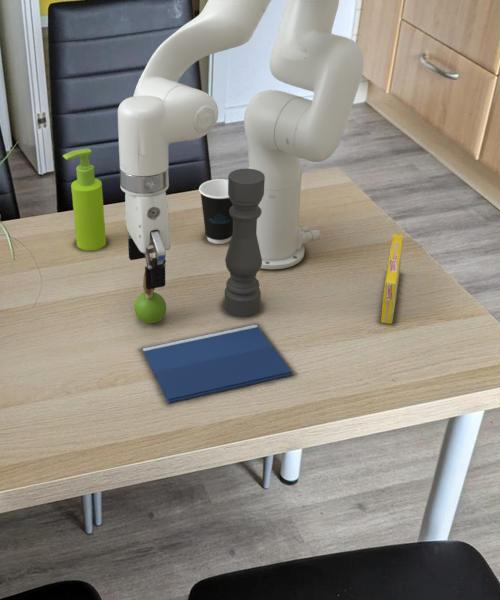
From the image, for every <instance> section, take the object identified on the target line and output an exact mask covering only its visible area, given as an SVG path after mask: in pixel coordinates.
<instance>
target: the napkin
mask: <svg viewBox="0 0 500 600" xmlns="http://www.w3.org/2000/svg"><path fill="white" fill-rule="evenodd" d="M141 350H142V353H143V355H144V357H145V359H146V360H147V362H148V364H149V367H150V369H151V371H152V372H153V374H154V376H155V379H156V381H157V382H158V384H159V387H160V389H161V391H162V393H163V394H164V397H165V398H166V400H167V402H168V404H173V403H176V402H181V401H186V400H189V399H190V400H191V399H194V398H199V397H203V396H207V395H213V394H216V393H221V392H226V391H230V390H235V389H238V388H243V387H247V386H253V385H257V384H262V383H265V382H270V381H274V380H279V379H282V378H287V377H291V376H292V375H293V374H292V370H291V369H290V368H289V366H288V365H287V363H286V362H285V361H284V359H283V358H282V356H281V355H280V354H279V352H278V351H277V349H276V348H275V347H274V346H272V345H271V343H270V341H269V340H268V339H267V337H266V336H265V335H264V333H263V332H262V331H261V329H260V328H259V325H257V323H255V324H249V325H245V326H241V327H235V328H232V329H231V328H230V329H226V330H221V331H217V332H212V333H208V334H202V335H198V336H193V337H189V338H184V339H180V340H179V339H178V340H175V341H170V342H166V343H160V344H155V345H150V346H147V347H142V348H141Z"/></svg>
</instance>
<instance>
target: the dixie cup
mask: <svg viewBox="0 0 500 600" xmlns="http://www.w3.org/2000/svg"><path fill="white" fill-rule="evenodd" d="M198 191H199V193H200V199H201V207H202V216H203V222H204V223H203V224H204V231H205V232H204V233H205V236H206V239H207V241H208V242H210V243H211V244H216V245H222V244H227V243H230V241H231V237H232V234H233V218H232V217H231V216H230V213H229V209H230V208H231V207H232V206H233V205H232V202H231V201H230V197H229V195H228V179H224V178H217V179H216V178H215V179H210V180H206V181H205V182H203V183H201V184H200V185H199V188H198Z"/></svg>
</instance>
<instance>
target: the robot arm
mask: <svg viewBox="0 0 500 600" xmlns="http://www.w3.org/2000/svg"><path fill="white" fill-rule="evenodd" d="M271 2H272V0H207V2H206V4H205V6H204V7H203V9H202V11H201V12H200V13H199V14H198V15H197V16H195V17H194V18H193V19H191V20H189V21H188V22H187V23H185V24H184V25H183V26H181V27H180V28H178V29H176V31H174V33H172V34H171V35H170V36H169V37H167V38H166V39H165V40H163V42H162V43H161V44H160V45H159V46H158V47H157V48H156V49H155V51H154V52H153V53H152V55H151V57H150V58H149V60H148V62H147V64H146V66H145V68H144V69H143V71H142V73H141V75H140V77H139V78H138V82H137V83H136V87H135V89H134V92H133V96H130V97H127V98H124V99H123V100H122V101H121V102H120V103H119V106H118V108H117V130H118V131H117V132H118V133H117V134H118V135H117V136H118V155H119V156H118V157H119V159H118V160H119V179H120V180H119V181H120V189H121V191H122V192H123V193H124V194H125V195H124V200H125V201H124V211H125V215H124V216H125V225H126V226H125V227H126V229H127V236H128V238H127V244H128V245H127V246H128V259H129V260H130V261H135V260H141V259H145V262H146V266H145V267H144V273H145V286H146V288H147V289H154V288H155V289H158V288H164V287H165V286H166V266H167V265H166V262H167V259H166V256H167V252H166V251H169V250H170V248H171V230H170V229H171V227H170V215H169V214H170V213H169V205H168V198H167V193H166V192H167V190H168V189H169V188H170V187H169V186H170V182H169V181H170V174H169V173H170V172H169V170H170V168H169V166H170V165H169V161H170V160H169V159H170V158H169V157H170V156H169V146H170V145H171V144H174V143H180V142H181V143H182V142H189V141H194V140H198V139H201V138H203V137H204V136H206V135H207V134H209V133H210V132H211V131H212V129H214V128H215V126H216V124H217V122H218V118H219V107H218V104H217V102H216V100H215V98H214V97H212V95H210V94H208V93H207V92H205V91H203V90H200V89H199V88H194V87H192V86H189V85H186V84H183V83H180V82H179V81H180V79H181V78H182V76H183V75H184V74H185V72H186V71H187V70H188V69H189V68H190V67H191V66H193V65H194V64H195V63H196V62H198V61H200V60H201V59H204V58H205V57H208V56H210V55H214V54H216V53H219V52H223V51H227V50H230V49H234V48H238V47H241V46H243V45H245V44H247V43H248V42H249V41H250V40H251V38H252V37H253V35H254V33H255V31H256V29H257V28H258V26H259V24H260V22H261V20H262V18H263V16H264V15H265V12H266V11H267V9H268V7H269V5H270V3H271ZM339 5H340V0H286V1H285V5H284V9H283V14H282V17H281V20H280V24H279V27H278V29H277V34H276V37H275V40H274V44H273V48H272V50H271V55H270V60H269V70H270V73H271V75H272V76H273V78H274V79H276V80H277V81H279V82H280V83H284V84H286V85H289V86H292V87H296V88H299V89H302V90H306V91H309V92H312V93H313V97H312V100H311V99H308V98H305V97H303V96H300V95H297V94H293V93H290V92H287V91H282V90H276V89H274V90H273V89H268V90H263V91H260V92H259V93H256V94H255V95H254V96H252V98H251V99H250V100H249V102H248V104H246V108H245V111H244V114H243V115H244V116H243V129H244V134H245V140H246V146H247V155H248V156H247V157H248V167H247V169H255V170H258V171H261V172H262V173H263V174H264V176H265V182H264V196H263V197H262V200H261V202H260V203H259V205H258V206H259V207H260V208H261V211H262V213H261V215H260V217H259V218H258V219H257V231H256V235H257V239H258V244H259V249H260V253H261V258H262V265H261V267H260V269H262V270H283V269H288V268H290V267H293V266H295V265H297V264H299V263H300V262H302V260H303V259H304V258H305V257H304V256H305V246H304V245H305V244H307V242H313V241H317V240H318V241H319V240H321V239H322V232H321V230H320V229H315V230H314V229H313V230H310V229H309V226H307V225H305V226H301V227H299V218H300V217H299V215H300V205H301V204H300V203H301V189H302V179H303V177H302V176H303V166H302V160H305V161H308V162H312V163H321V162H323V161H326V160H328V159H329V158H330V157H332V155H333V154H334V153H335V152H336V150H337V149H338V147H339V144H340V143H341V141H342V138H343V135H344V133H345V129H346V126H347V124H348V121H349V117H350V116H351V115H350V114H351V112H352V108H353V105H354V102H355V100H356V97H357V94H358V90H359V88H360V85H361V81H362V78H363V77H362V76H363V72H364V55H363V54H364V53H363V51H362V48H361V46H360V45H359V44H358V43H357V42H356V41H355V40H353V39H351V38H349V37H346V36H343V35H339V34H334V33H332V31H333V27H334V23H335V20H336V16H337V14H338V10H339ZM150 246H152V248H149V247H150ZM151 254H154V257H152V258H153V259H152V261H151V258H150V257H151ZM155 289H154V290H155Z"/></svg>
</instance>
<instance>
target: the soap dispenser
mask: <svg viewBox="0 0 500 600" xmlns="http://www.w3.org/2000/svg"><path fill="white" fill-rule="evenodd" d="M91 155H93V151H92V149H90V148H89V147H86V148H85V147H84V148H79V149H75V150H72V151H68V152H67V153H65V154H62V157H63V158H64V159H65V160H66V161H70V160H73V159H76V158H79V164H78V165H77V166H76V168H75V171H76V179H75V180H73V182H72V183H71V184H70V188H71V195H72V196H71V199H72V210H73V219H74V230H75V240H76V241H75V242H76V246H77V248H78V249H80V250H83V251H89V252H92V251H97V250H101V249H102V248H104V247H105V246H106V244H107V238H106V235H107V234H106V220H105V207H104V196H103V195H104V193H103V184H102V183H103V182H102V181H101V180H100V179H98V178H96V175H95V165H93V164H91V163H90V157H89V156H91Z"/></svg>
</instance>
